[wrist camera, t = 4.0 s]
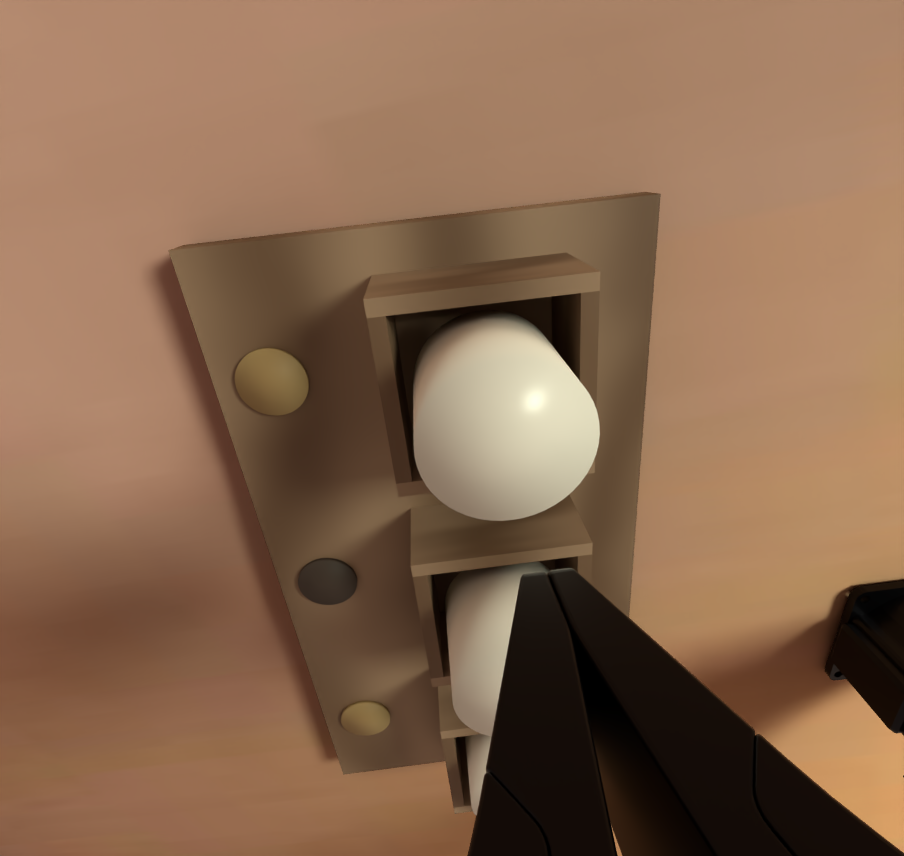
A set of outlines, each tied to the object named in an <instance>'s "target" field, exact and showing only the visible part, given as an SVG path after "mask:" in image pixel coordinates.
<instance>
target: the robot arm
mask: <svg viewBox="0 0 904 856" xmlns="http://www.w3.org/2000/svg"><path fill="white" fill-rule="evenodd" d="M825 672H826V674H827V675H828V676H829V677H830V679H832V680H842V679H847V680H848V681H849V682H850V683H851V685H852V686H853V687H854V688H855V689H856V691H857V692H858V693H859V694H860V695H861V696H862V698H863V699H864V700H865V701H866V702H867V704H868V705H869V706H870V707H871V708H872V709H873V711H874V712H875V713H876V714H877V715H878V717H879V718H880V719H881V720H882V721H883V722H884V724H885V725H886V726H887V727H888V728H889V729H890V730H891V731H893V732H894V733H902V734H903V735H904V581H898V582H890V583H882V584H874V585H867V586H860V587H857V588H855V589H854V590H853V591H851V593H850V595H849V597H848V600H847V603H846V606H845V609H844V612H843V615H842V618H841V621H840V624H839V627H838V630H837V633H836V636H835V639H834V642H833V646H832V649H831V652H830V655H829V658H828V661H827V664H826V667H825ZM903 777H904V776H903ZM611 825H612V827H611ZM612 828H613V831H614V833H615V836H616V839H617V842H618V844H619V847H620V850H621V853H622V856H904V853H903V852H902V851H900V850H899V849H898V848H896V847H895V846H894V845H893V844H891V843H890V842H889V841H887V840H886V839H885V838H883V837H882V836H881V835H880V834H878V833H877V832H876V831H875V830H873V829H872V828H871V827H870V826H868V825H867V824H866V823H865V822H863V821H862V820H861V819H859V818H858V817H857V816H856V815H854V814H853V813H852V812H851V811H849V810H848V809H847V808H846V807H844V806H843V805H842V804H841V803H839V802H838V801H837V800H835V799H834V798H833V797H832V796H830V795H829V794H828V793H827V792H826V791H825V790H823V789H822V788H821V787H820V786H819V785H818V784H816V783H815V782H814V781H813V780H812V779H811V778H809V777H808V776H807V775H806V774H805V773H804V772H802V771H801V770H800V769H799V768H798V767H797V766H795V765H794V764H793V763H792V762H791V761H790V760H788V759H787V758H786V757H785V756H784V755H783V754H782V753H780V752H779V751H778V750H777V749H776V748H775V747H774V746H773V745H771V744H770V743H769V742H768V741H767V740H766V739H765V738H764V737H763V736H761V735H759V734H757V735H755V730H754V729H753V728H752V727H751V726H750V725H749V724H748V723H746V722H745V721H744V720H743V719H742V718H741V717H740V716H739V715H738V714H736V713H735V712H734V711H733V710H732V709H731V708H730V707H729V706H727V705H726V704H725V703H724V702H723V701H722V700H721V699H720V698H718V697H717V696H716V695H715V694H714V693H713V692H712V691H711V690H709V689H708V688H707V687H706V686H705V685H704V684H703V683H702V682H700V681H699V680H698V679H697V678H696V677H695V676H694V675H693V674H691V673H690V672H689V671H688V670H687V669H686V668H685V667H684V666H682V665H681V664H680V663H679V662H678V661H677V660H676V659H675V658H674V657H672V656H671V655H670V654H669V653H668V652H667V651H666V650H665V649H663V648H662V647H661V646H660V645H659V644H658V643H657V642H656V641H654V640H653V639H652V638H651V637H650V636H649V635H648V634H647V633H645V632H644V631H643V630H642V629H641V628H640V627H639V626H638V625H636V624H635V623H634V622H633V621H632V620H631V619H630V618H629V617H627V616H626V615H625V614H624V613H623V612H622V611H621V610H620V609H618V608H617V607H616V606H615V605H614V604H613V603H612V602H611V601H610V600H608V599H607V598H606V597H605V596H604V595H603V594H602V593H601V592H599V591H598V590H597V589H596V588H595V587H594V586H593V585H592V584H590V583H589V582H588V581H587V580H586V579H585V578H584V577H583V576H581V575H580V574H579V573H578V572H577V571H576V570H574V569H572V568H564V569H557V570H551V571H549V572H548V574H546V573H545V572H535V573H527V574H523V575H522V576H521V578H520V584H519V589H518V595H517V600H516V606H515V611H514V617H513V622H512V628H511V633H510V638H509V644H508V649H507V655H506V660H505V666H504V671H503V677H502V682H501V688H500V693H499V699H498V704H497V710H496V715H495V720H494V726H493V731H492V737H491V742H490V748H489V753H488V759H487V764H486V774H485V775H484V779H483V784H482V790H481V795H480V801H479V806H478V810H477V815H476V820H475V824H474V829H473V834H472V838H471V843H470V847H469V852H468V855H467V856H617V851H616V847H615V842H614V837H613V832H612Z"/></svg>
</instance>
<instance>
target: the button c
mask: <svg viewBox="0 0 904 856" xmlns="http://www.w3.org/2000/svg"><path fill="white" fill-rule="evenodd" d="M599 436H600V426H599V418H598V413H597V410H596V407H595V404H594V402H593V400H592V398H591V396H590V394H589V393H588V391H587V390H586V389H585V387H584V386H583V385H582V383H581V382H580V381H579V379H578V378H577V377H576V376H575V374H574V373H573V372H572V370H571V369H570V368H569V367H568V365H567V364H566V363H565V361H564V360H563V359H562V358H561V356H560V355H559V354H558V352H557V351H556V350H555V349H554V347H553V346H552V345H551V343H550V342H549V341H548V340H547V338H546V337H545V336H544V334H543V333H542V332H541V331H540V330H539V329H538V328H537V327H536V326H535V325H533V324H532V323H531V322H529V321H528V320H526V319H524V318H522V317H520V316H518V315H516V314H513V313H510V312H506V311H501V310H478V311H472V312H468V313H465V314H462V315H460V316H457V317H455V318H453V319H451V320H450V321H448V322H446V323H445V324H443V325H442V326H441V327H440V328H438V329H437V330H436V331H435V332H434V333H433V334H432V335H431V336H430V337H429V339H428V340H427V341H426V343H425V344H424V346H423V347H422V349H421V351H420V353H419V355H418V358H417V361H416V363H415V368H414V374H413V439H414V457H415V461H416V465H417V468H418V471H419V473H420V476H421V478H422V479H423V481H424V483H425V485H426V486H427V487H428V489H429V490H430V491H431V492H432V494H433V495H435V496H436V497H437V498H438V499H439V500H440V501H441V502H442V503H444V504H445V505H447V506H448V507H450V508H451V509H453V510H455V511H457V512H459V513H462V514H464V515H467V516H470V517H473V518H477V519H483V520H491V521H506V520H515V519H521V518H525V517H528V516H532V515H535V514H537V513H540V512H542V511H545V510H547V509H548V508H550V507H552V506H554V505H556V504H557V503H559V502H560V501H561V500H563V499H564V498H565V497H567V496H568V495H569V494H570V493H571V492H572V491H573V490H574V489H575V488H576V487H577V486H578V485H579V484H580V483H581V481H582V480H583V479H584V477H585V476H586V475H587V473H588V471H589V469H590V467H591V466H592V463H593V461H594V458H595V456H596V453H597V449H598V445H599Z"/></svg>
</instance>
